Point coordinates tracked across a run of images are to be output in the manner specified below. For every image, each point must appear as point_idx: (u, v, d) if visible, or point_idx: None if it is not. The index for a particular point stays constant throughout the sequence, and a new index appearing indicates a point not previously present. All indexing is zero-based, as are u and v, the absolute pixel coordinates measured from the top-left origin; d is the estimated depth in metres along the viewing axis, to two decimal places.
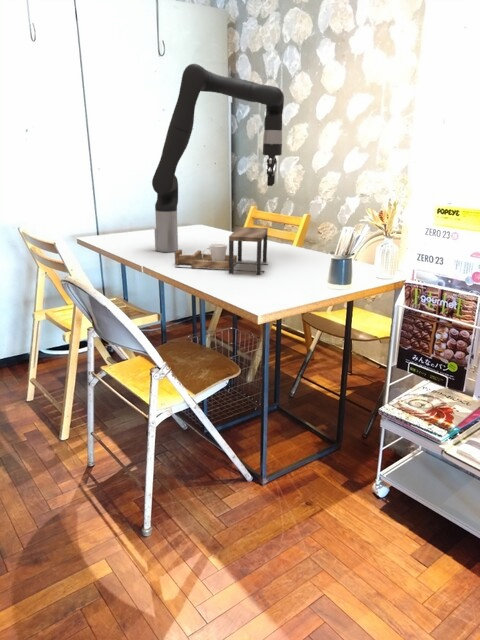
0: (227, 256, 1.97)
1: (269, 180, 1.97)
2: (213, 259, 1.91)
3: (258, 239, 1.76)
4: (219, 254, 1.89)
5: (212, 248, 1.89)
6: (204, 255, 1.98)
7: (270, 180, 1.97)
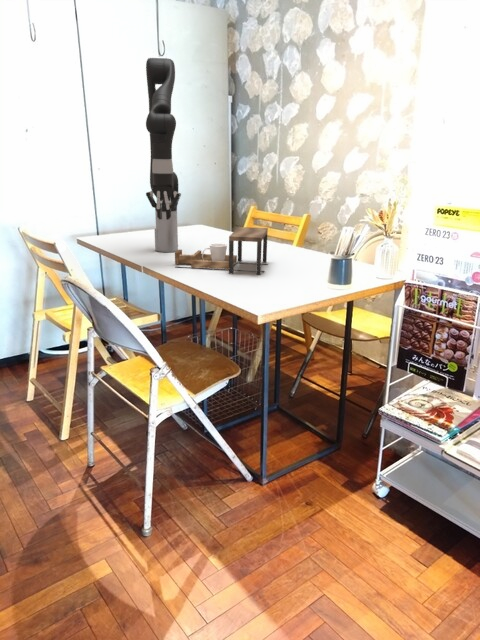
0: (227, 256, 1.97)
1: (170, 214, 1.89)
2: (213, 259, 1.91)
3: (258, 239, 1.76)
4: (219, 254, 1.89)
5: (212, 248, 1.89)
6: (204, 255, 1.98)
7: (170, 213, 1.89)
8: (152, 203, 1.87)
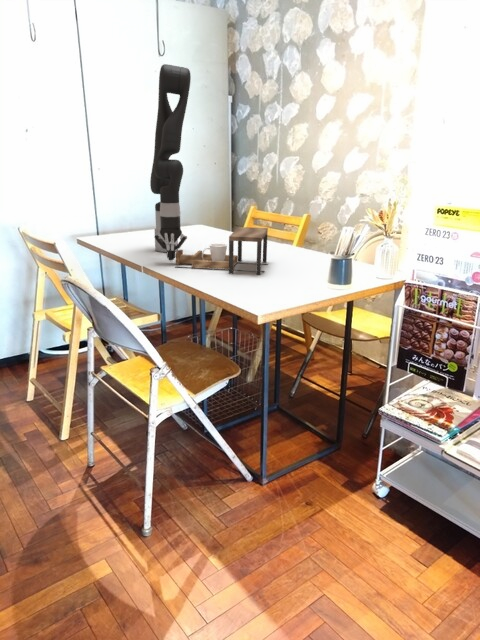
0: (228, 256, 1.97)
1: (174, 254, 1.93)
2: (213, 259, 1.91)
3: (258, 239, 1.76)
4: (219, 254, 1.89)
5: (212, 248, 1.89)
6: (205, 255, 1.98)
7: (174, 254, 1.94)
8: (162, 245, 1.92)
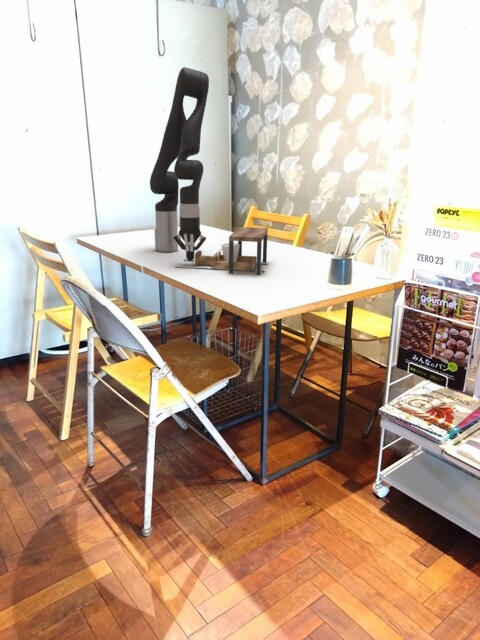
0: (247, 257, 1.96)
1: (193, 255, 1.92)
2: (227, 259, 1.91)
3: (258, 239, 1.76)
4: (235, 253, 1.91)
5: (227, 248, 1.89)
6: None
7: (193, 255, 1.93)
8: (181, 245, 1.91)
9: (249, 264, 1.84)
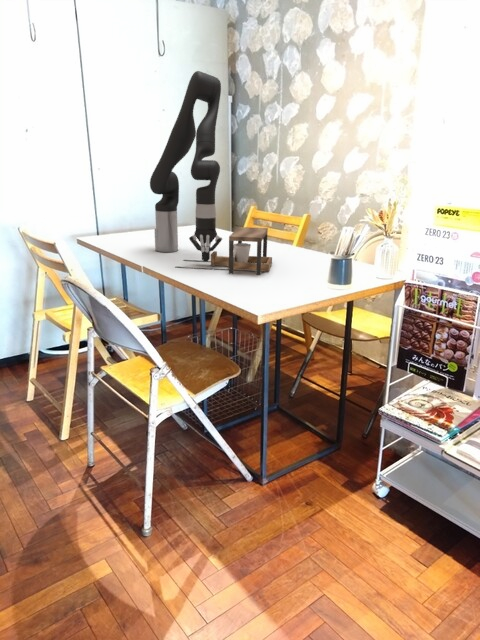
0: (262, 258, 1.95)
1: (209, 256, 1.92)
2: (241, 259, 1.91)
3: (258, 239, 1.76)
4: (248, 253, 1.91)
5: (241, 248, 1.89)
6: None
7: (209, 256, 1.92)
8: (197, 246, 1.90)
9: (266, 265, 1.83)
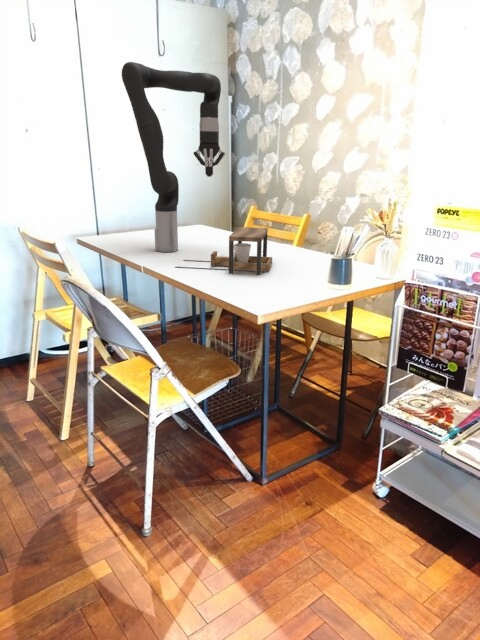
0: (262, 258, 1.95)
1: (212, 171, 2.00)
2: (241, 259, 1.91)
3: (258, 239, 1.76)
4: (248, 253, 1.91)
5: (242, 248, 1.89)
6: None
7: (212, 171, 2.00)
8: (201, 161, 1.98)
9: (266, 265, 1.83)
